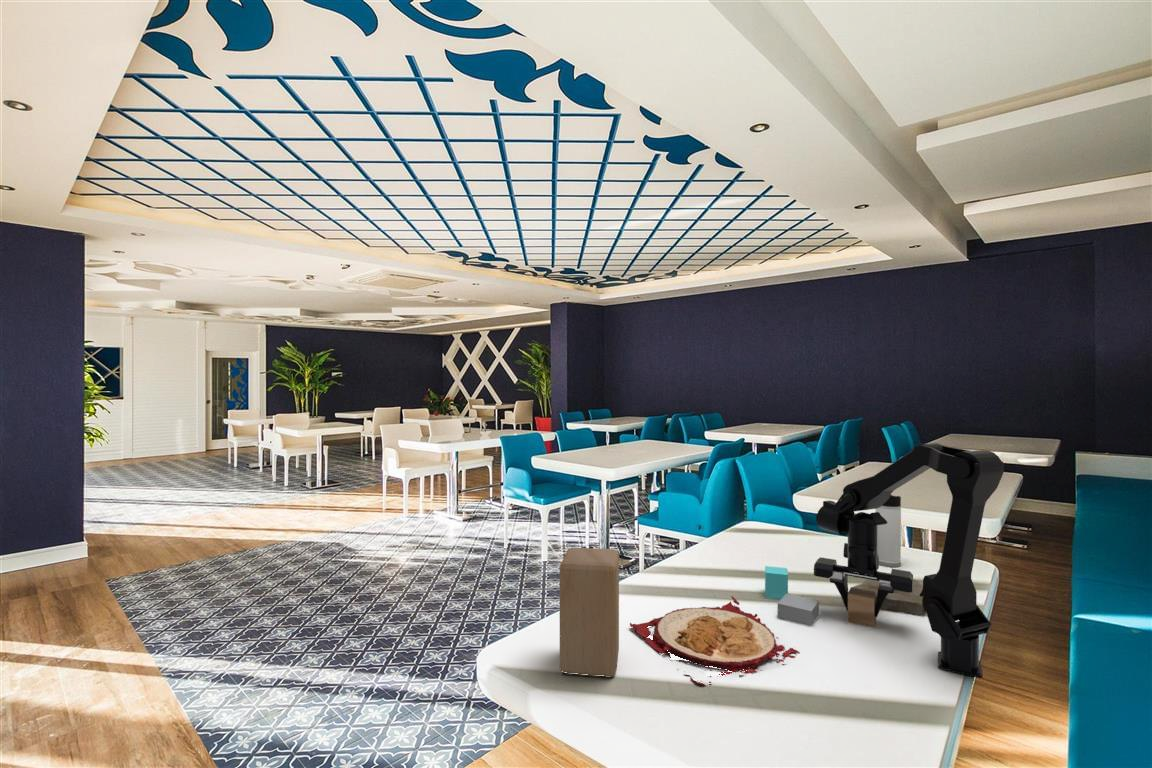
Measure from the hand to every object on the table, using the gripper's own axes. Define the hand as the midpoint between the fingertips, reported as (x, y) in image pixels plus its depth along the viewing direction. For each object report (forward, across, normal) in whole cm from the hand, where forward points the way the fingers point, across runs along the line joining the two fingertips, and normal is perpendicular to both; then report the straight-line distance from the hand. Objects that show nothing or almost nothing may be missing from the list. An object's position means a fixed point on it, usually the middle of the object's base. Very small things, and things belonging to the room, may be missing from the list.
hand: (862, 613), depth 121 cm
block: (+2, +40, +47) cm, 62 cm away
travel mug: (+2, -2, -45) cm, 45 cm away
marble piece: (+2, -4, -16) cm, 17 cm away
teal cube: (+2, +19, -5) cm, 20 cm away
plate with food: (+2, +23, +26) cm, 35 cm away
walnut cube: (+2, 0, 0) cm, 2 cm away
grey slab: (+2, +12, +5) cm, 13 cm away
